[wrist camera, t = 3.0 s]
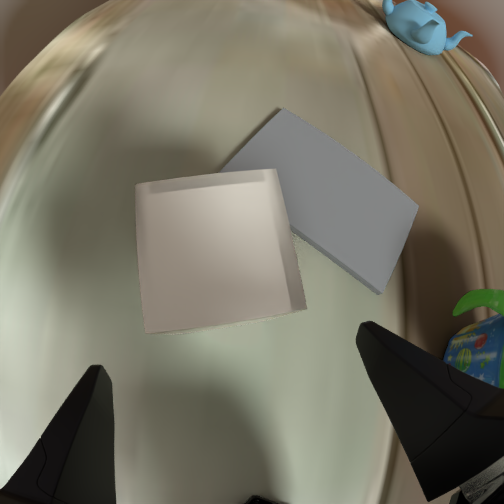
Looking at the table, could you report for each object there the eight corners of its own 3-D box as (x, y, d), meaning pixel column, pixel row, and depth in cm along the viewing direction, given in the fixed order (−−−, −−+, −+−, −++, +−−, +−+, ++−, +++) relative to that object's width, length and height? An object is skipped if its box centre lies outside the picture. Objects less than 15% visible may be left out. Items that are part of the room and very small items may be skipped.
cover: (262, 321, 20) (307, 309, 11) (177, 334, 19) (145, 333, 10) (247, 241, 22) (276, 168, 12) (167, 251, 21) (135, 183, 11)
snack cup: (398, 337, 21) (492, 327, 12) (458, 271, 24) (533, 242, 14) (451, 448, 19) (522, 466, 9) (501, 379, 21) (566, 377, 12)
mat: (414, 209, 25) (419, 206, 24) (377, 294, 22) (382, 293, 21) (281, 113, 26) (283, 107, 25) (216, 179, 23) (217, 174, 22)
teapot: (410, 25, 42) (428, -5, 32) (453, 68, 38) (477, 38, 29) (365, 14, 38) (382, -22, 29) (413, 59, 35) (439, 20, 25)
